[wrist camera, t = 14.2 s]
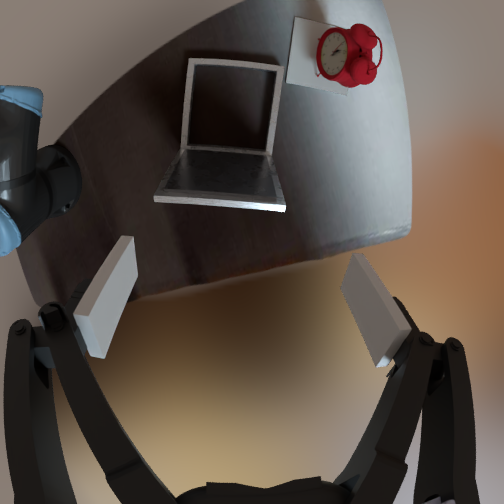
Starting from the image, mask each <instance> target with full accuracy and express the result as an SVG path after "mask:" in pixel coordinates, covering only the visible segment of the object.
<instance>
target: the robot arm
mask: <svg viewBox="0 0 504 504" xmlns="http://www.w3.org/2000/svg"><path fill="white" fill-rule="evenodd" d="M42 103H43V93H42V91H41V90H40V89H38V88H34V87H26V86H9V85H7V86H3V85H0V256H5V255H7V254H8V253H10V252H11V251H12V250H13V249H14V248H16V247H18V246H19V245H20V244H21V243H22V242H23V241H24V240H25V239H26V238H27V237H28V236H29V235H30V234H31V233H32V232H33V231H34V230H35V229H36V228H37V227H38V226H39V225H40V224H41V223H42V222H44V221H45V220H46V219H49V218H54V217H58V216H61V215H63V214H65V213H67V212H68V211H69V210H70V209H71V208H73V207H74V205H75V204H76V203H77V201H78V199H79V197H80V194H81V189H82V177H81V172H80V168H79V166H78V163H77V161H76V159H75V158H74V156H73V155H72V154H71V153H70V152H69V151H68V150H67V149H65V148H63V147H61V146H58V145H48V146H45V147H43V148H41V149H39V150H37V144H38V135H39V126H40V119H41V118H42V113H41V112H42ZM137 276H138V272H137V264H136V256H135V247H134V237H133V236H121V237H120V239H119V240H118V242H117V243H116V245H115V246H114V248H113V249H112V251H111V252H110V254H109V255H108V257H107V258H106V260H105V261H104V263H103V264H102V266H101V267H100V269H99V271H98V272H97V274H96V275H95V277H94V279H85V280H83V281H82V282H81V283H80V284H78V286H77V288H76V289H75V291H74V292H73V294H72V295H71V298H70V299H69V300H68V302H67V304H66V305H65V307H64V306H63V305H62V304H61V303H59V302H49V303H47V304H45V305H44V306H43V307H42V308H41V309H40V310H39V312H38V317H39V320H40V322H41V324H42V326H39V327H32V325H31V323H30V322H29V321H28V320H26V319H20V320H17V321H16V322H14V323H13V324H12V326H11V327H10V329H9V334H8V341H7V350H6V359H5V373H4V428H5V440H6V450H7V458H8V464H9V470H10V476H11V481H12V486H13V491H14V504H77V502H76V499H75V495H74V492H73V489H72V486H71V483H70V479H69V475H68V472H67V468H66V464H65V460H64V456H63V451H62V447H61V442H60V437H59V431H58V425H57V419H56V412H55V404H54V395H53V384H52V368H56V370H57V373H58V376H59V379H60V382H61V384H62V387H63V390H64V392H65V395H66V397H67V400H68V402H69V405H70V407H71V409H72V411H73V414H74V416H75V418H76V420H77V422H78V425H79V427H80V429H81V431H82V433H83V435H84V437H85V439H86V441H87V443H88V444H89V447H90V448H91V450H92V452H93V454H94V456H95V457H96V459H97V461H98V463H99V464H100V466H101V468H102V469H103V471H104V473H105V475H106V480H107V483H108V484H109V486H110V488H111V489H112V491H113V492H114V494H115V495H116V496H117V498H118V499H119V501H120V502H121V503H122V504H393V502H394V500H395V498H396V495H397V493H398V491H399V489H400V486H401V484H402V482H403V480H404V477H405V475H406V473H407V469H408V465H407V464H406V463H405V458H406V455H407V453H408V450H409V447H410V444H411V442H412V439H413V436H414V433H415V430H416V427H417V423H418V420H419V417H420V413H421V410H422V427H421V443H420V453H419V462H418V470H417V477H416V483H415V489H414V499H413V504H480V501H479V495H478V489H477V484H476V480H475V471H476V440H475V439H476V437H475V420H474V409H473V399H472V392H471V384H470V378H469V372H468V367H467V361H466V356H465V351H464V347H463V345H462V344H461V342H460V341H459V340H457V339H455V338H452V337H450V338H448V339H447V340H446V341H445V343H444V344H442V343H437V342H435V341H434V339H433V338H432V337H431V336H430V335H429V334H427V333H425V332H420V331H419V329H418V327H417V326H416V324H415V323H414V321H413V319H412V318H411V316H410V315H409V313H408V311H407V310H406V308H405V307H404V305H403V304H402V302H401V301H399V300H398V299H397V298H396V297H392V296H391V294H390V293H389V291H388V290H387V288H386V287H385V285H384V284H383V282H382V281H381V279H380V278H379V276H378V275H377V273H376V272H375V270H374V269H373V268H372V266H371V265H370V263H369V262H368V260H367V259H366V257H365V256H364V254H359V253H352V256H351V259H350V262H349V265H348V268H347V271H346V274H345V277H344V279H343V282H342V285H341V290H342V293H343V295H344V297H345V299H346V301H347V303H348V305H349V308H350V310H351V312H352V314H353V316H354V318H355V321H356V323H357V325H358V327H359V329H360V332H361V334H362V336H363V338H364V341H365V343H366V345H367V348H368V350H369V352H370V355H371V357H372V359H373V362H374V364H375V367H382V366H387V365H388V364H389V363H390V362H391V360H392V359H394V361H395V365H394V366H393V368H392V369H391V370H390V372H389V373H388V374H387V376H386V377H388V376H389V378H388V381H387V383H386V386H385V388H384V391H383V393H382V395H381V398H380V400H379V403H378V405H377V407H376V409H375V412H374V414H373V416H372V418H371V420H370V423H369V425H368V426H367V428H366V431H365V433H364V434H363V436H362V438H361V441H360V442H359V444H358V446H357V448H356V450H355V452H354V453H353V455H352V457H351V459H350V461H349V462H348V464H347V466H346V467H345V469H344V470H343V472H342V473H341V474H340V475H339V476H338V477H337V478H336V479H335V481H334V482H333V483H331V482H327V481H321V477H320V476H318V477H312V478H305V479H297V480H292V481H290V482H286V483H283V484H280V485H277V486H274V487H270V488H265V489H264V488H258V487H252V486H248V485H243V484H237V483H214V482H212V483H211V482H206V486H202V487H198V488H194V489H191V490H189V491H187V492H184V493H183V494H181V495H179V496H178V497H177V498H175V497H174V495H173V494H172V493H171V492H170V491H169V490H168V488H167V487H166V486H165V485H164V484H163V483H162V481H161V480H160V479H159V478H158V477H157V476H156V474H155V473H154V472H153V470H152V469H151V468H150V466H149V465H148V464H147V462H146V461H145V460H144V458H143V457H142V455H141V454H140V453H139V451H138V450H137V449H136V447H135V445H134V444H133V442H132V441H131V439H130V438H129V436H128V435H127V433H126V432H125V430H124V429H123V427H122V425H121V424H120V422H119V420H118V419H117V417H116V416H115V414H114V412H113V410H112V409H111V407H110V405H109V403H108V402H107V400H106V398H105V396H104V395H103V392H102V390H101V388H100V387H99V384H98V382H97V381H96V378H95V377H94V374H93V372H92V370H91V368H90V366H89V364H88V362H87V359H86V357H85V352H86V350H87V349H88V351H89V354H90V355H91V356H93V357H98V358H103V359H104V358H105V356H106V353H107V351H108V348H109V345H110V342H111V340H112V337H113V334H114V332H115V329H116V327H117V324H118V321H119V319H120V316H121V314H122V311H123V309H124V307H125V304H126V302H127V299H128V297H129V295H130V292H131V290H132V288H133V285H134V283H135V281H136V279H137Z"/></svg>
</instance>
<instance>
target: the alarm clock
mask: <svg viewBox="0 0 504 504" xmlns="http://www.w3.org/2000/svg"><path fill="white" fill-rule="evenodd" d="M377 39H378V40H379V43H380V48H381V52H380V60H379V63H378V65H377V66H376V65H375V63H374V62H373V61H372V49H373V48H374V47H375V46H376V45H377ZM318 40H319V43H318V47H317V53H316V61H317V66H318V70H319V72H320V73H319V74H318V75H317V77H319V75H320V74H321V75H322V76H323V77H324V78H326V79H328V80H330V81H336V82H338V83H339V84H341V85H342V86H344V87H348V88H352V87H356V86H358V85H359V84H363V85H366V84H369V83H371V82H372V81H373V80H374V79H375V77H376V74H377V68H378V67H379V65H380V63H381V60H382V51H383V50H382V43H381V40H380V38H379V37H377V36H376V35H375V33H374V32H373V30H372V29H371V28H369V27H368V26H366V25H364V24H354V25H353V26H352V27H351V29H343V28H339V27H332V28H329V29H328V30H326V31H325V32H324V33H323V35H322V36H321V38H318Z"/></svg>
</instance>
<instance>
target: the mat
mask: <svg viewBox="0 0 504 504" xmlns="http://www.w3.org/2000/svg"><path fill="white" fill-rule="evenodd" d="M332 27H335V26H331V25H328V24H324V23H320V22H316V21H312V20H308V19H303V18H298V17H295V21H294V28H293V35H292V42H291V49H290V57H289V64H288V71H287V78H286V83H291V84H296V85H302V86H307V87H311V88H316V89H321V90H325V91H329V92H333V93H337V94H341V95H345V96H347V94H348V87H344V86H342V85H341V84H339V83H338V82H336V81H330V80H328V79H326V78H324V77H323V76H322V75H321V74H320V75H319V77H317V75H318V74H319V73H320V72H319V70H318V66H317V61H316V53H317V47H318V43H319V40H318V38H321V36H322V35H323V33H324V32H325V31H326V30H328V29H329V28H332Z"/></svg>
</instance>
